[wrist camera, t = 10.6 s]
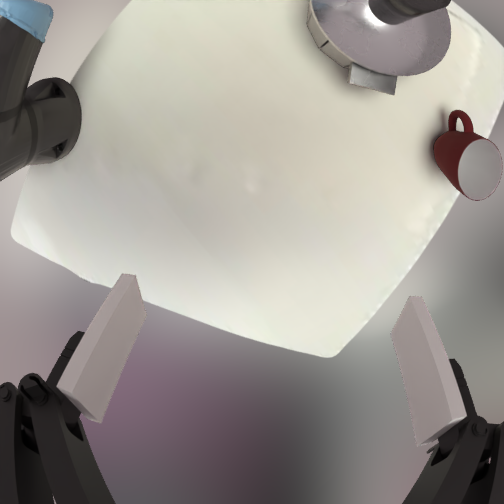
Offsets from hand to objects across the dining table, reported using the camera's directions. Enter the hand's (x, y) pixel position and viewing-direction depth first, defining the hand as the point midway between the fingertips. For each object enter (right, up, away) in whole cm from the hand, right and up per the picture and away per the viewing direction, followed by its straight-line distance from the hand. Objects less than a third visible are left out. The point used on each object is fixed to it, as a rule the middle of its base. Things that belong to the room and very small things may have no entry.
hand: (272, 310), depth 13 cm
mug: (+27, +19, +19) cm, 38 cm away
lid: (+12, +27, +6) cm, 30 cm away
